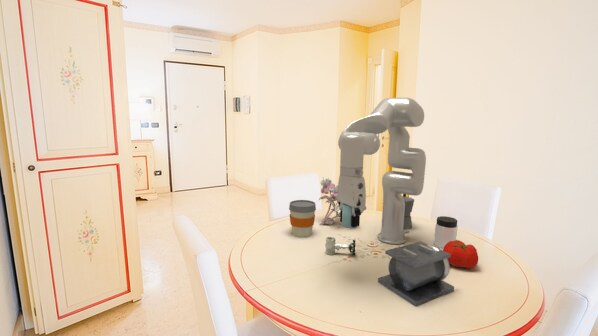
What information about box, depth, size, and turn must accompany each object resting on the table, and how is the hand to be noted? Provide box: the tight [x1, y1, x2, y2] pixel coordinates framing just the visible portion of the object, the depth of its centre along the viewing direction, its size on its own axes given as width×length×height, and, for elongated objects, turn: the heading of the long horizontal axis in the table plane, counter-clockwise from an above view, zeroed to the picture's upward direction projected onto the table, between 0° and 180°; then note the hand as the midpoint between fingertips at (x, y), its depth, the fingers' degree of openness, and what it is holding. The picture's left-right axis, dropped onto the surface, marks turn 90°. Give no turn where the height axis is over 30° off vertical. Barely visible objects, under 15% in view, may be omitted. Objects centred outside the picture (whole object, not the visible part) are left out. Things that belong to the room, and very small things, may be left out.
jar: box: [433, 215, 458, 249], centre depth 142 cm, size 9×8×12 cm
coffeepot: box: [402, 194, 415, 231], centre depth 164 cm, size 15×9×18 cm, turn 162°
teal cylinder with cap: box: [341, 204, 357, 230], centre depth 110 cm, size 5×5×9 cm
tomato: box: [442, 239, 479, 269], centre depth 123 cm, size 13×12×8 cm
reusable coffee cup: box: [288, 199, 317, 238], centre depth 152 cm, size 13×13×15 cm
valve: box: [324, 236, 356, 257], centre depth 131 cm, size 7×7×12 cm
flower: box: [318, 178, 341, 226], centre depth 165 cm, size 20×22×25 cm
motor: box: [377, 240, 455, 307], centre depth 106 cm, size 18×16×13 cm
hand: (349, 223), depth 110 cm, fingers closed on teal cylinder with cap, 5 cm apart
